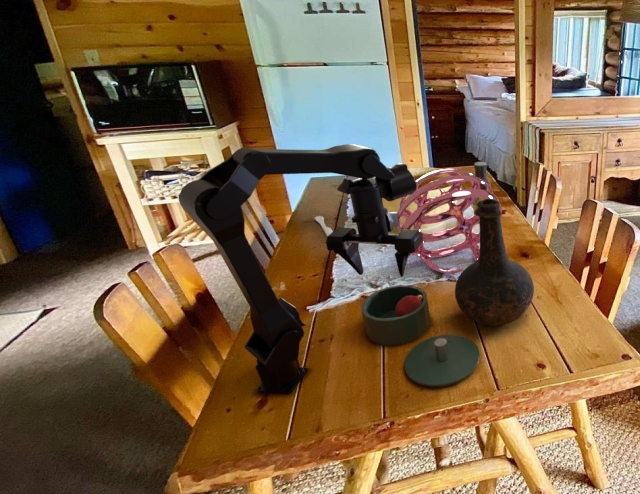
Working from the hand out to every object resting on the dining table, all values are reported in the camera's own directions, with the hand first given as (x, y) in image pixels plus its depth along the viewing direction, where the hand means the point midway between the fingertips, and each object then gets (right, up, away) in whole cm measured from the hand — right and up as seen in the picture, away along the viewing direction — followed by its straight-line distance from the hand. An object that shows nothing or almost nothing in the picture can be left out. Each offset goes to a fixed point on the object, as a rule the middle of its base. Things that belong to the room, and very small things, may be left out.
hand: (382, 274), depth 95 cm
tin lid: (+15, -16, -8) cm, 23 cm away
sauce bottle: (+15, +15, +56) cm, 60 cm away
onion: (+3, -11, +3) cm, 11 cm away
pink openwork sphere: (+10, +2, +30) cm, 32 cm away
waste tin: (+3, -12, +3) cm, 12 cm away
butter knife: (-36, +12, +49) cm, 62 cm away
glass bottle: (+24, -10, +7) cm, 27 cm away
